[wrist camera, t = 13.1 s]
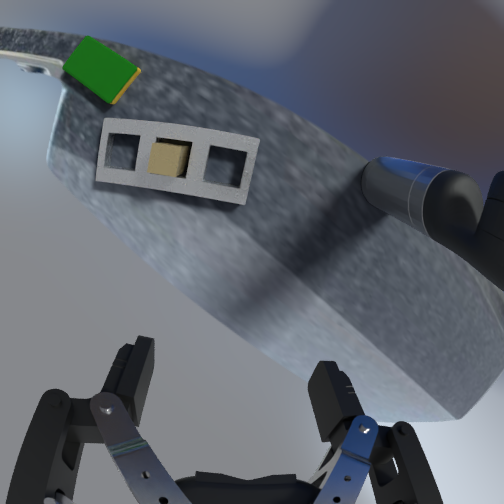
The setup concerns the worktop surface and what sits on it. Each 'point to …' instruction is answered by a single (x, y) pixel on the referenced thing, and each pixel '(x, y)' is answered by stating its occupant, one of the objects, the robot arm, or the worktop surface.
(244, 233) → the worktop surface
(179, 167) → the brass peg
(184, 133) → the rail plate
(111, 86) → the dish sponge
